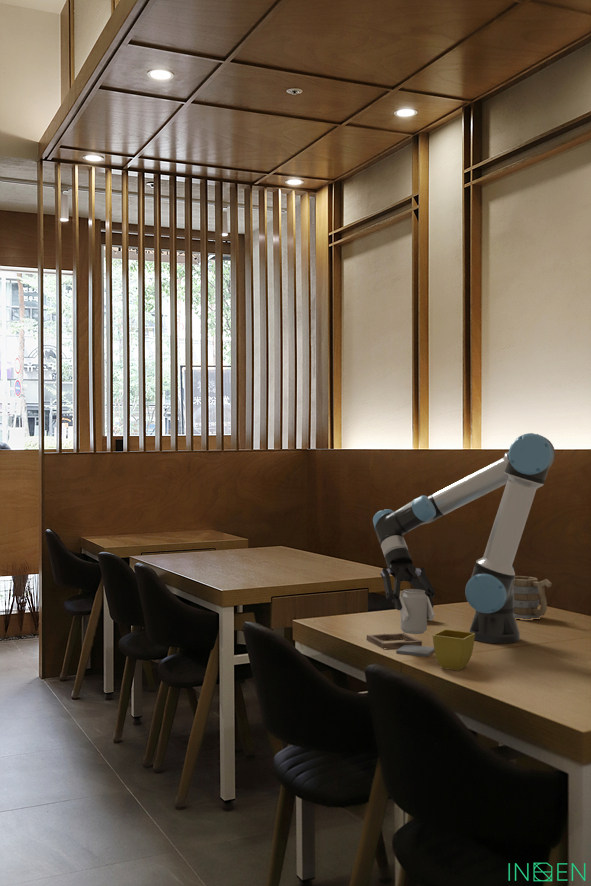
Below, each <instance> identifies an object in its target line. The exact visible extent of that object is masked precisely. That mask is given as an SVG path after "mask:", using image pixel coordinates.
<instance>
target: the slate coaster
mask: <svg viewBox="0 0 591 886" xmlns="http://www.w3.org/2000/svg"><path fill="white" fill-rule="evenodd" d="M395 653H396V654H401V655H408V656H409V655H410V656H416V657H417V656H418V657H429V656H430V655H431V654H433V653H435V652H434V646H427V645H426V646H425V645H422V646H417V645H403V646H402V647H400V648H397V649H396V650H395Z"/></svg>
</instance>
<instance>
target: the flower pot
mask: <svg viewBox="0 0 591 886" xmlns="http://www.w3.org/2000/svg"><path fill="white" fill-rule="evenodd" d="M474 638H475V633H470V631H467V632H466V631H461V630H455V629H454V630H453V629H443V630H440V631H439V632H436V633H433V635H432V642H433V647H434V652H433V653H434V656H435V658H436V661H437V663H438V664H439V666H440V668H442V669H444V668H445V670H447V669H448V670H453V671H457V670H458V672H459V671H461V670H463V669H464V668H466V667H467V665H468V664H469V662H470V661H471V659H472V656H473V655H472V654H473V651H474V646H475V644H474V643H475V640H474Z"/></svg>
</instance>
